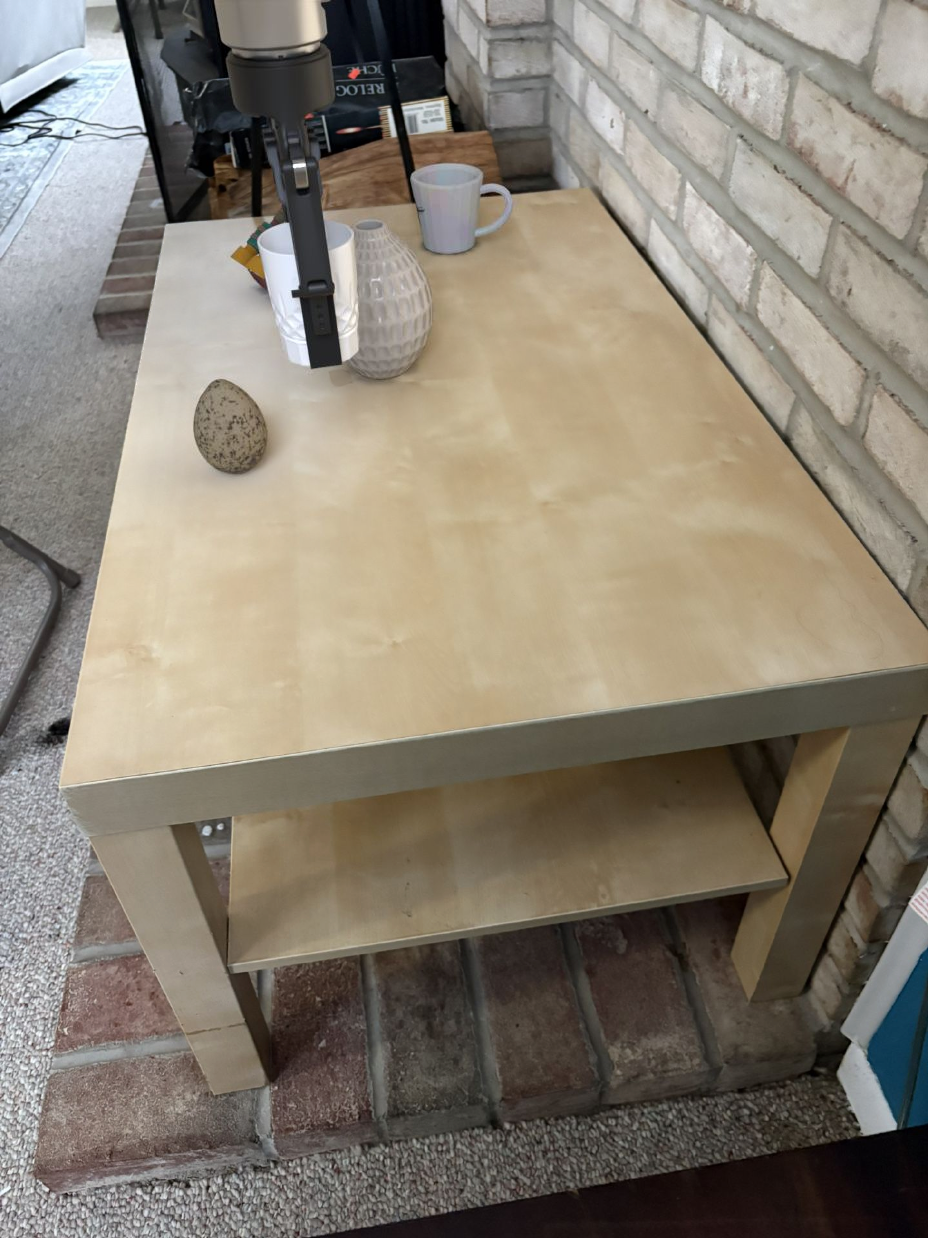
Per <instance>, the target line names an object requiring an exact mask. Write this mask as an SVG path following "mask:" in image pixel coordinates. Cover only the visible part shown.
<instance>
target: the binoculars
mask: <svg viewBox="0 0 928 1238" xmlns="http://www.w3.org/2000/svg"><path fill="white" fill-rule="evenodd" d="M282 223H285V222H284V216H283V211H282V210H278V211H277V212H276V214H275V215H274V216H273V219H272V220H271V221H270V223H269V222H267V221H263V222H262V223H261V224H258V226H257V227H256V230H255V231H254V232H252V233H251V235H249V238H248V239H247V240H246V245H245V246H242V245H239V247H238V248H237V249H236V250H235V251H234V252H233V253H232V254H231V255H230V256H229V257H230V258H231V259H233V260H234V261H235V262H237V263H238V264H240V265H241V266H242V267H244V268H246V269H247V271H248V272H249V275H250V276H251V277H252V279H253V280H254V281H255V282H256V283H257V284H258V285H259V286H260V287H261V288H262V289H263V290H265V291H268V288H267V284H266V279H265V275H264V270H263V266H262V261H261V257H260V253H259V248H258V244H257V239H258V237H259V236H260V235H261V234H262V233H263V232H264V231H266V230H267V229H269V228H271V227H274V226H276V225H279V224H282Z"/></svg>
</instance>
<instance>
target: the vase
mask: <svg viewBox="0 0 928 1238" xmlns="http://www.w3.org/2000/svg"><path fill="white" fill-rule="evenodd" d="M350 228H351V229H352V230H353V232H354V243H355V258H356V272H357V292H358V311H359V319H358V330H359V350H358V352H357V353H356V354H355V355H354V356H353V357H352V358H350V359H349V360H346V361H344V362H343V363H345V364H346V365H347V366H348V367H350V368H351V369H352V370H354V371H355V372H356V373H357V374H359V375H361V376H362V377H365V378H367V379H372V380H387V379H388V380H389V379H395V378H396V377H399V376H401V375H403V374H405V373H406V372H407V371H408V370H410V368H411V367H412V366H413V364H415V362H416V361H417V360H418V359H419V357H420V356H421V354H422V352H423V350H424V349H425V347H426V344H427V343H428V340H429V338H430V335H431V331H432V326H433V321H434V301H433V292H432V288H431V287H432V286H431V282H430V280H429V276H428V275H427V272H426V270H425V269H424V267H423V264H422V262H421V260H420V259H419V258H418V256H417V254H416V252H414V251H413V249H412V248H411V247H410V246H409V245H408V244H407V243H406V242H405V241H404V240H403V239H402V238H401V237H399V236H398V235H396V234H395V233H394V232H392V231H391V229H390V227H389V224H388V223H387V222H386V221H384V220H381V219H377V218H367V219H361V220H358V221H356V222H354V223H352V225H350Z"/></svg>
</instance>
